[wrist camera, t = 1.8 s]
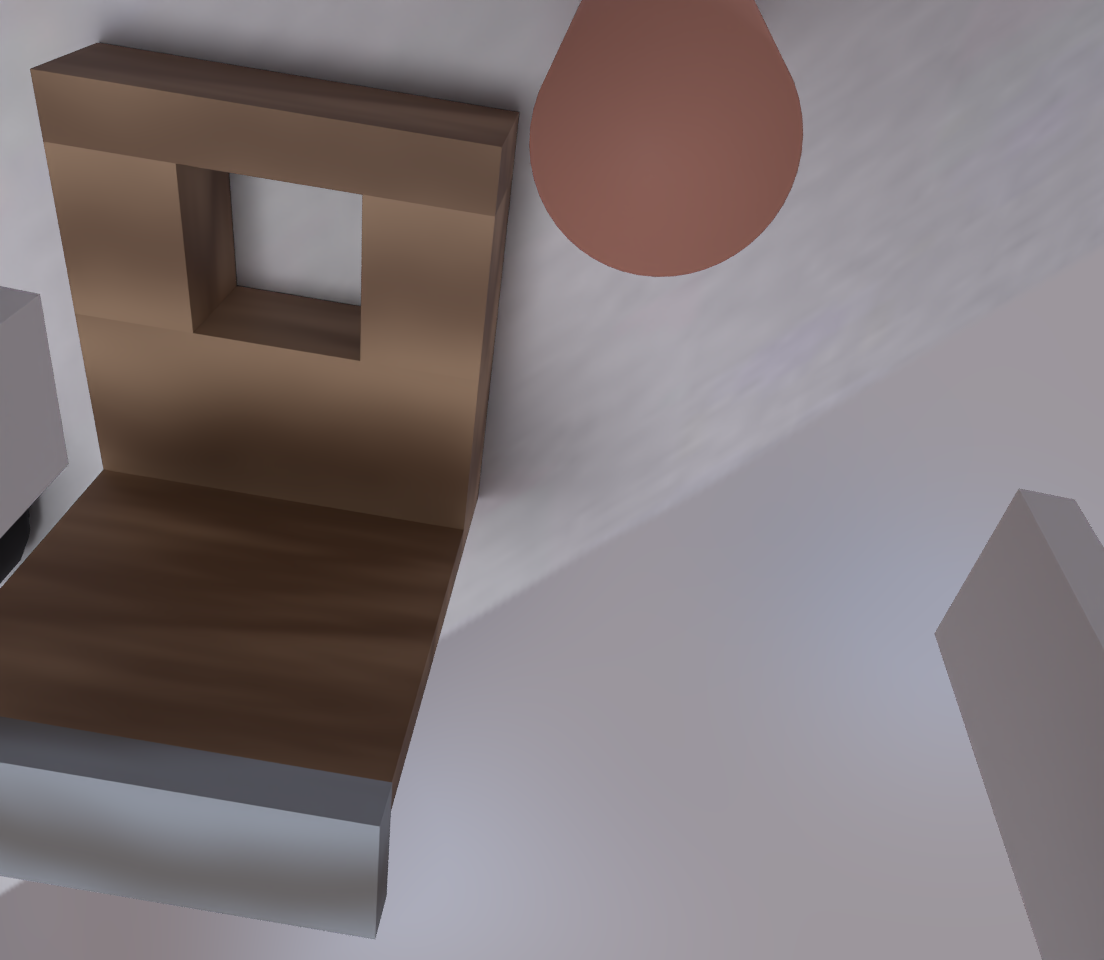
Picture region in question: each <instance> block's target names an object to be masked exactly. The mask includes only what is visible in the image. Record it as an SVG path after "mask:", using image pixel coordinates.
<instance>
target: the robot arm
mask: <svg viewBox="0 0 1104 960" xmlns="http://www.w3.org/2000/svg"><path fill="white" fill-rule="evenodd" d="M67 465H68V458H67V452H66V446H65V440H64V434H63V428H62V422H61V416H60V410H59V404H58V399H57V393H56V387H55V381H54V375H53V369H52V363H51V357H50V351H49V345H48V339H47V333H46V327H45V321H44V315H43V309H42V303H41V298H40V294H37V293H32V292H27V291H22V290H17V289H12V288H7V287H2V286H0V538H1V537H2V536H3V535H4V534H5V533H6V531H7V530H8V529H9V528H10V527H11V526H12V525H13V524H14V523H15V522H16V521H17V520H18V518H19V517H20V516H21V515H22V514H23V513H24V512H25V511H26V510H27V509H28V508H29V507H30V505H31V504H32V503H33V502H34V501H35V500H36V499H37V498H38V497H39V496H40V495H41V494H42V492H43V491H44V490H45V489H46V488H47V487H48V486H49V485H50V484H51V483H52V482H53V481H54V480H55V478H56V477H57V476H58V475H59V474H60V473H61V472H62V471H63V470H64V469H65V468H66V467H67ZM935 636H936V640H937V642H938V645H939V648H940V652H941V655H942V658H943V661H944V664H945V667H946V670H947V673H948V676H949V679H950V682H951V685H952V688H953V691H954V694H955V697H956V700H957V703H958V706H959V709H960V712H961V715H962V718H963V721H964V724H965V727H966V730H967V733H968V736H969V740H970V743H971V746H972V749H973V751H974V755H975V758H976V761H977V764H978V767H979V769H980V773H981V776H982V779H983V782H984V785H985V788H986V791H987V794H988V797H989V800H990V803H991V806H992V809H993V812H994V815H995V818H996V821H997V824H998V827H999V830H1000V833H1001V836H1002V839H1003V842H1004V846H1005V848H1006V852H1007V854H1008V858H1009V861H1010V864H1011V867H1012V870H1013V873H1014V876H1015V879H1016V882H1017V885H1018V888H1019V891H1020V894H1021V897H1022V900H1023V903H1024V906H1025V909H1026V912H1027V915H1028V918H1029V921H1030V924H1031V927H1032V930H1033V933H1034V936H1035V939H1036V942H1037V945H1038V949H1039V952H1040V954H1041V957H1042V960H1104V547H1103V546H1102V544H1101V542H1100V541H1099V539H1098V537H1097V536H1096V534H1095V533H1094V531H1093V529H1092V527H1091V526H1090V524H1089V523H1088V521H1087V519H1086V517H1085V516H1084V514H1083V512H1082V511H1081V509H1080V507H1079V506H1078V504H1077V502H1076V501H1075V500H1074V499H1069V498H1064V497H1059V496H1054V495H1048V494H1044V493H1039V492H1034V491H1029V490H1023V489H1018V491H1017V493H1016V494H1015V496H1014V498H1013V500H1012V501H1011V503H1010V505H1009V506H1008V508H1007V510H1006V512H1005V513H1004V515H1003V517H1002V518H1001V520H1000V522H999V524H998V525H997V527H996V529H995V530H994V532H993V534H992V536H991V537H990V539H989V541H988V543H987V544H986V546H985V548H984V549H983V551H982V553H981V555H980V556H979V558H978V560H977V561H976V563H975V565H974V567H973V568H972V570H971V572H970V573H969V575H968V577H967V579H966V581H965V582H964V584H963V585H962V587H961V589H960V591H959V593H958V594H957V596H956V597H955V599H954V601H953V603H952V604H951V606H950V608H949V609H948V611H947V613H946V615H945V616H944V618H943V620H942V621H941V623H940V625H939V627H938V628H937V630H936V632H935Z"/></svg>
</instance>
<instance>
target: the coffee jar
mask: <svg viewBox="0 0 1104 960" xmlns="http://www.w3.org/2000/svg"><path fill="white" fill-rule="evenodd" d="M29 533H30V525H29V510H28V509H27V510H26V511H25V512H24V513H23V514H22V515H21V516H20V517H19V518H18V520H17V521H16V522H15V523H14V524H13V525H12V526H11V527H10V528H9V529H8V530H7V531H6V533H5V534H4V535H3V536H2V537H1V538H0V583H1V582H2V581H3V580H4V578H5V577H6V576H7V575H8V574H9V573H10V572H11V570H12V569H13V568H14V567H15V566H16V565H17V564H18V562H19V561H20V560H21V557H22V554H23V551H24V549H25V546H26V543H27V540H28V537H29Z"/></svg>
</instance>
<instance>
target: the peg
mask: <svg viewBox="0 0 1104 960" xmlns="http://www.w3.org/2000/svg"><path fill="white" fill-rule="evenodd" d="M802 141H803V123H802V112H801V107H800V101H799V97H798V94H797V90H796V87H795V84H794V81H793V79H792V77H791V75H790V73H789V71H788V69H787V66H786V64H785V62H784V60H783V58H782V56H781V54H780V52H779V50H778V48H777V46H776V44H775V42H774V40H773V38H772V36H771V34H770V32H769V30H768V27H767V25H766V23H765V21H764V19H763V17H762V15H761V13H760V11H759V9H758V7H757V5H756V3H755V1H754V0H582V1H581V3H580V5H579V7H578V9H577V11H576V13H575V15H574V18H573V20H572V22H571V24H570V26H569V28H568V30H567V33H566V35H565V37H564V39H563V41H562V43H561V45H560V48H559V50H558V52H557V54H556V56H555V58H554V60H553V62H552V65H551V67H550V69H549V71H548V73H547V75H546V77H545V80H544V82H543V84H542V86H541V88H540V90H539V93H538V96H537V99H536V103H535V106H534V109H533V115H532V120H531V126H530V141H529V148H530V161H531V167H532V172H533V177H534V181H535V184H536V187H537V190H538V193H539V196H540V198H541V200H542V202H543V204H544V206H545V208H546V210H547V212H548V213H549V215H550V216H551V218H552V219H553V221H554V222H555V224H556V225H557V227H558V228H559V229H560V230H561V231H562V232H563V234H564V235H565V236H566V237H567V238H568V239H569V240H570V241H571V242H572V243H573V244H575V245H576V246H577V247H578V248H579V249H580V250H582V251H583V252H585V253H586V254H588V255H589V256H590V257H592V258H593V259H595V260H597V261H599V262H601V263H603V264H605V265H607V266H610V267H612V268H615V269H618V270H620V271H623V272H628V273H632V274H636V275H643V276H653V277H665V276H677V275H684V274H690V273H693V272H697V271H701V270H704V269H707V268H709V267H712V266H714V265H717V264H719V263H721V262H723V261H725V260H727V259H728V258H730V257H732V256H734V255H735V254H737V253H738V252H740V251H741V250H742V249H744V248H745V247H747V246H748V245H749V244H750V243H751V242H753V241H754V240H755V239H756V238H757V237H758V236H759V235H760V234H761V233H762V232H763V231H764V230H765V229H766V228H767V226H768V225H769V224H770V223H771V222H772V221H773V219H774V218H775V216H776V215H777V213H778V212H779V210H780V209H781V207H782V206H783V204H784V202H785V200H786V198H787V196H788V194H789V192H790V190H791V188H792V185H793V182H794V180H795V177H796V174H797V171H798V167H799V162H800V157H801V152H802Z"/></svg>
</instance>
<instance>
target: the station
mask: <svg viewBox="0 0 1104 960" xmlns="http://www.w3.org/2000/svg"><path fill="white" fill-rule="evenodd" d="M30 71H31V77H32V82H33V88H34V93H35V99H36V104H37V109H38V115H39V120H40V126H41V131H42V137H43V142H44V148H45V153H46V158H47V164H48V169H49V175H50V180H51V186H52V191H53V197H54V202H55V207H56V213H57V218H58V224H59V229H60V235H61V240H62V246H63V251H64V257H65V262H66V267H67V273H68V278H69V284H70V289H71V295H72V300H73V306H74V311H75V316H76V322H77V327H78V333H79V338H80V344H81V349H82V355H83V360H84V365H85V371H86V376H87V382H88V387H89V393H90V398H91V404H92V409H93V414H94V420H95V425H96V431H97V436H98V442H99V447H100V453H101V458H102V463H103V469H104V470H103V471H102V472H101V473H100V474H99V475H98V477H97V478H96V479H95V480H94V481H93V482H92V483H91V485H90V486H89V487H88V488H87V489H86V490H85V492H84V493H83V494H82V495H81V496H80V497H79V498H78V500H77V501H76V502H75V503H74V504H73V505H72V507H71V508H70V509H69V510H68V511H67V512H66V513H65V515H64V516H63V517H62V518H61V519H60V520H59V522H58V523H57V524H56V525H55V526H54V527H53V528H52V530H51V531H50V532H49V533H48V534H47V535H46V537H45V538H44V539H43V540H42V541H41V542H40V543H39V545H38V546H37V547H36V548H35V549H34V550H33V552H32V553H31V554H30V555H29V556H28V557H27V558H26V560H25V561H24V562H23V563H22V564H21V565H20V567H19V568H18V569H17V570H16V571H15V572H14V573H13V575H12V576H11V577H10V578H9V579H8V580H7V582H6V583H5V584H4V585H3V586H2V587H1V588H0V876H4V877H10V878H16V879H22V880H28V881H34V882H40V883H45V884H51V885H57V886H63V887H69V888H75V889H81V890H87V891H93V892H99V893H104V894H110V895H116V896H122V897H128V898H134V899H140V900H146V901H151V902H157V903H163V904H169V905H176V906H181V907H188V908H194V909H199V910H205V911H210V912H216V913H222V914H228V915H234V916H240V917H246V918H252V919H258V920H264V921H269V922H275V923H281V924H288V925H293V926H299V927H305V928H311V929H317V930H323V931H328V932H335V933H340V934H346V935H352V936H358V937H364V938H370V939H375V938H376V934H377V930H378V926H379V923H380V919H381V915H382V911H383V907H384V903H385V900H386V895H387V875H388V855H389V837H390V817H391V809H392V805H393V802H394V798H395V795H396V791H397V787H398V784H399V780H400V777H401V773H402V770H403V766H404V762H405V759H406V755H407V752H408V748H409V744H410V741H411V737H412V734H413V730H414V726H415V723H416V719H417V716H418V711H419V708H420V705H421V701H422V698H423V693H424V690H425V686H426V683H427V680H428V676H429V672H430V669H431V665H432V662H433V657H434V654H435V651H436V647H437V644H438V640H439V636H440V633H441V629H442V626H443V622H444V618H445V615H446V611H447V608H448V604H449V600H450V597H451V593H452V590H453V586H454V582H455V579H456V575H457V572H458V568H459V564H460V561H461V557H462V554H463V550H464V546H465V543H466V539H467V536H468V532H469V528H470V525H471V521H472V518H473V514H474V510H475V507H476V503H477V500H478V491H479V482H480V473H481V464H482V454H483V445H484V436H485V426H486V417H487V408H488V399H489V389H490V380H491V371H492V362H493V352H494V343H495V334H496V324H497V315H498V306H499V297H500V287H501V278H502V269H503V260H504V250H505V241H506V232H507V222H508V213H509V204H510V195H511V185H512V176H513V167H514V158H515V148H516V139H517V130H518V120H519V112H515V111H508V110H502V109H496V108H490V107H484V106H478V105H472V104H466V103H460V102H454V101H448V100H442V99H436V98H430V97H424V96H418V95H412V94H406V93H400V92H394V91H388V90H382V89H376V88H370V87H364V86H358V85H351V84H345V83H339V82H333V81H327V80H321V79H315V78H309V77H303V76H297V75H291V74H285V73H279V72H273V71H267V70H261V69H255V68H249V67H243V66H237V65H231V64H225V63H219V62H213V61H207V60H200V59H194V58H188V57H182V56H176V55H170V54H164V53H158V52H152V51H146V50H140V49H134V48H128V47H122V46H116V45H110V44H104V43H95V44H93V45H90V46H87V47H85V48H82V49H80V50H77V51H75V52H72V53H70V54H67V55H64V56H62V57H59V58H57V59H54V60H52V61H49V62H46V63H44V64H41V65H39V66H36V67H34V68H31V69H30ZM229 173H235V174H241V175H247V176H253V177H259V178H265V179H272V180H278V181H284V182H290V183H296V184H302V185H308V186H314V187H320V188H326V189H332V190H338V191H344V192H350V193H356V194H362V195H363V196H362V270H361V306H355V305H349V304H343V303H337V302H331V301H325V300H319V299H313V298H307V297H301V296H295V295H289V294H283V293H277V292H271V291H265V290H259V289H253V288H247V287H241V286H237V282H236V267H235V253H234V239H233V225H232V211H231V197H230V182H229Z"/></svg>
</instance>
